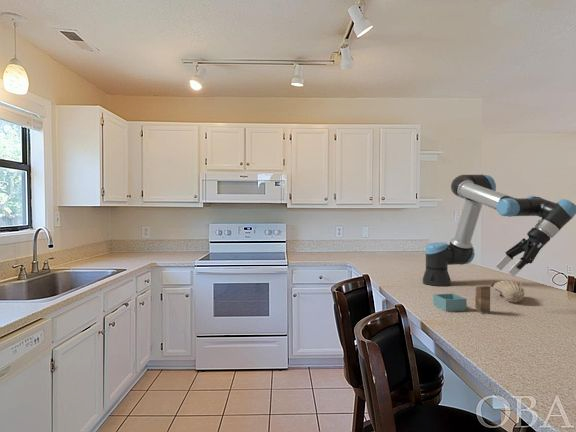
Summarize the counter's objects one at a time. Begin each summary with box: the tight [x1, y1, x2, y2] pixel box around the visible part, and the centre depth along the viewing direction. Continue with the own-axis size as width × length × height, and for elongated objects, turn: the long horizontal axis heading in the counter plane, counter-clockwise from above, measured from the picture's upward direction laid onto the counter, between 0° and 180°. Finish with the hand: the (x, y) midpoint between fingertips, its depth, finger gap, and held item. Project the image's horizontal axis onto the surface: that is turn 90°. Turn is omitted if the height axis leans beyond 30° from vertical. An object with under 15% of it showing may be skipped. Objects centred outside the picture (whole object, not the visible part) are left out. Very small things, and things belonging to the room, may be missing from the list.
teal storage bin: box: [432, 293, 468, 312], centre depth 155 cm, size 10×10×5 cm
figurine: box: [490, 280, 525, 304], centre depth 173 cm, size 12×9×30 cm
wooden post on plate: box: [474, 284, 492, 315], centre depth 149 cm, size 4×4×11 cm
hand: (504, 270), depth 147 cm, fingers open, 13 cm apart
